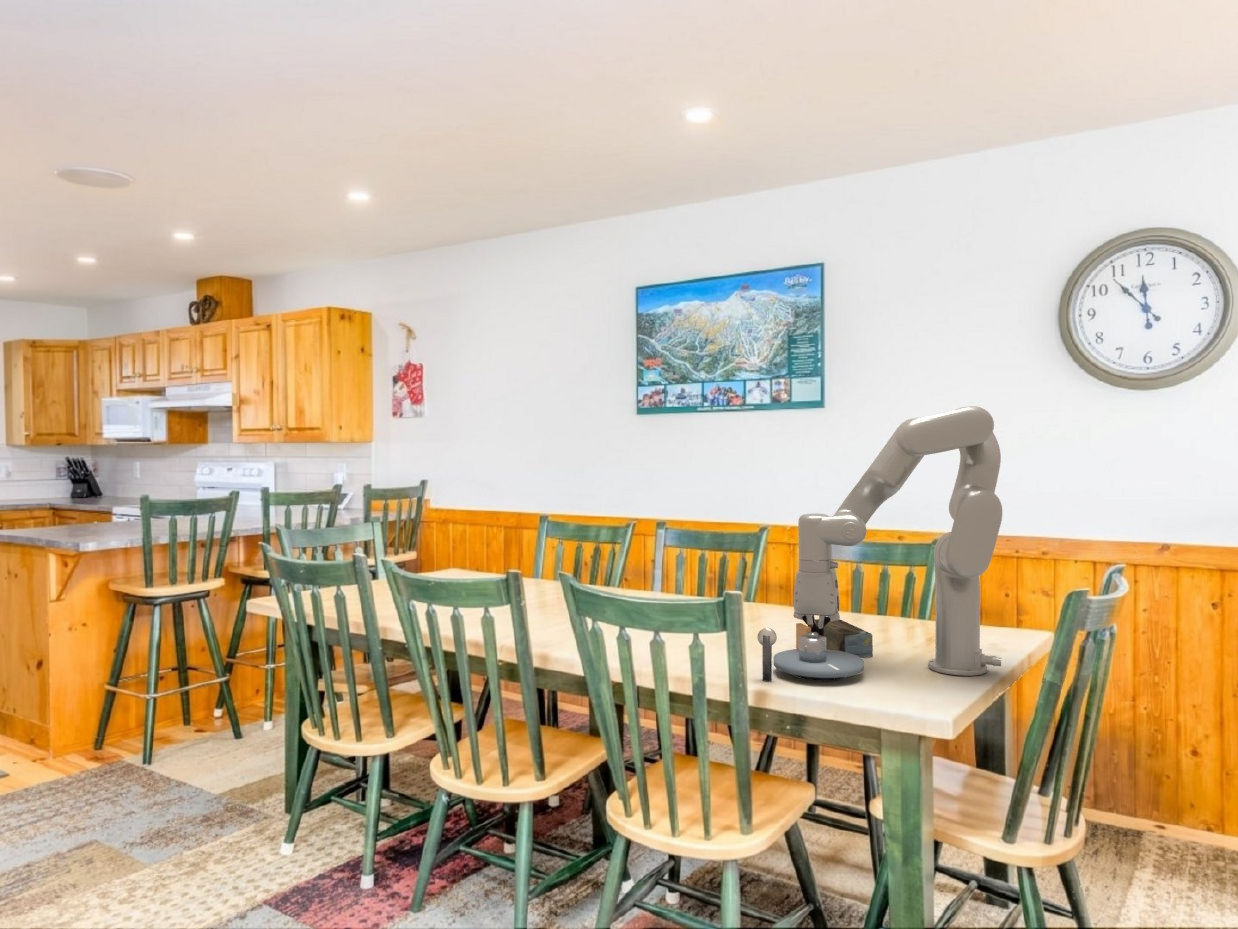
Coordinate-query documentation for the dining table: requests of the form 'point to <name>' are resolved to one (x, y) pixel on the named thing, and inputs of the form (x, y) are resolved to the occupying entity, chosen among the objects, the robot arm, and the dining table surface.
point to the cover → (812, 648)
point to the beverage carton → (847, 638)
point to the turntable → (831, 668)
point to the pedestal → (818, 678)
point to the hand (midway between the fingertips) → (817, 644)
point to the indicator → (767, 651)
